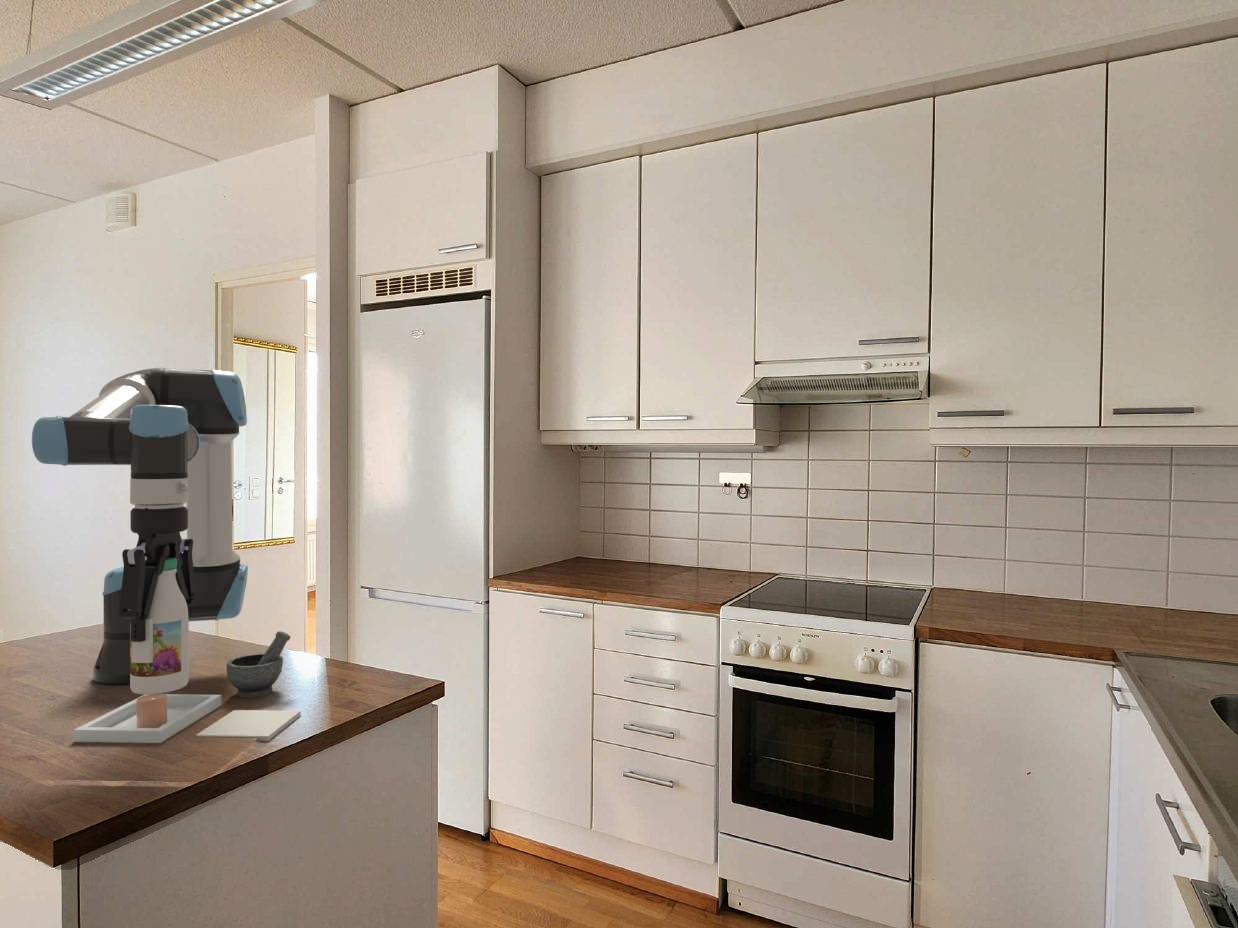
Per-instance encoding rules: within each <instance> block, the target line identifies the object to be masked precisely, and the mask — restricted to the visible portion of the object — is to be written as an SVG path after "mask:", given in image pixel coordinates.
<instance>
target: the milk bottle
mask: <svg viewBox="0 0 1238 928" xmlns="http://www.w3.org/2000/svg"><path fill="white" fill-rule="evenodd" d="M154 567H155V566H145V568H154ZM176 572H177V558H173V557H172V558H167V559H166V560H165V565H164V569H163V572H162V574H160V575H159V576H158V580H157V584H156V588H155V592H154V596H153V601H152V605H151V609H150V613H149V617H148V618H153V662H151V663H132V641H131V622H130V683H129V687H130V690H131V692H132V693H134V694H137V695H145V694H146V695H148V694H167V693H170V692H173V691H177V690H180V689H183V688H184V687H186V686H187V684H188V683H189V681H190V677H189V676H190V666H189V665H190V635H189V633H190V632H189V631H190V627H189V623H190V621H189V620H188V608H187V603H186V601H185V598H184V596H183V594H182V593H181V591H180V589H179V587H178V584H177V581H176V577H175V573H176ZM141 611H142V609H141Z"/></svg>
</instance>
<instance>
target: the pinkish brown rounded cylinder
mask: <svg viewBox="0 0 1238 928" xmlns="http://www.w3.org/2000/svg"><path fill="white" fill-rule="evenodd" d="M166 694H167V693H160V694H150V695H146V696H143V695H141V696H142V697H141V696H139V697H140V698H139V697H137V698H138V699H137V698H136V699H137V700H136V702H137V728H159V727H161V726H162V725H164V724H166V723H167V695H166Z"/></svg>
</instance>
